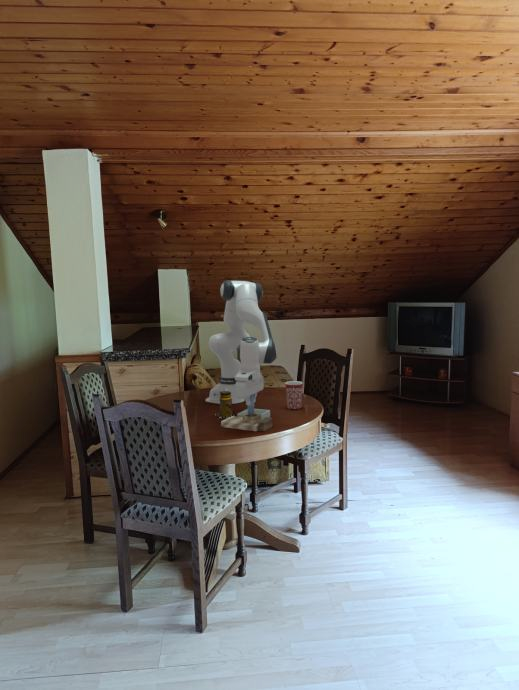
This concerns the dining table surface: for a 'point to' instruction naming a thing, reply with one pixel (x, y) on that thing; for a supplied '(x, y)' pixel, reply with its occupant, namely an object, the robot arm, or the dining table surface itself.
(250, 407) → the dowel
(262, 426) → the block
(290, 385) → the mug
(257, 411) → the tray
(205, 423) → the dining table surface
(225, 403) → the condiment
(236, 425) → the board
